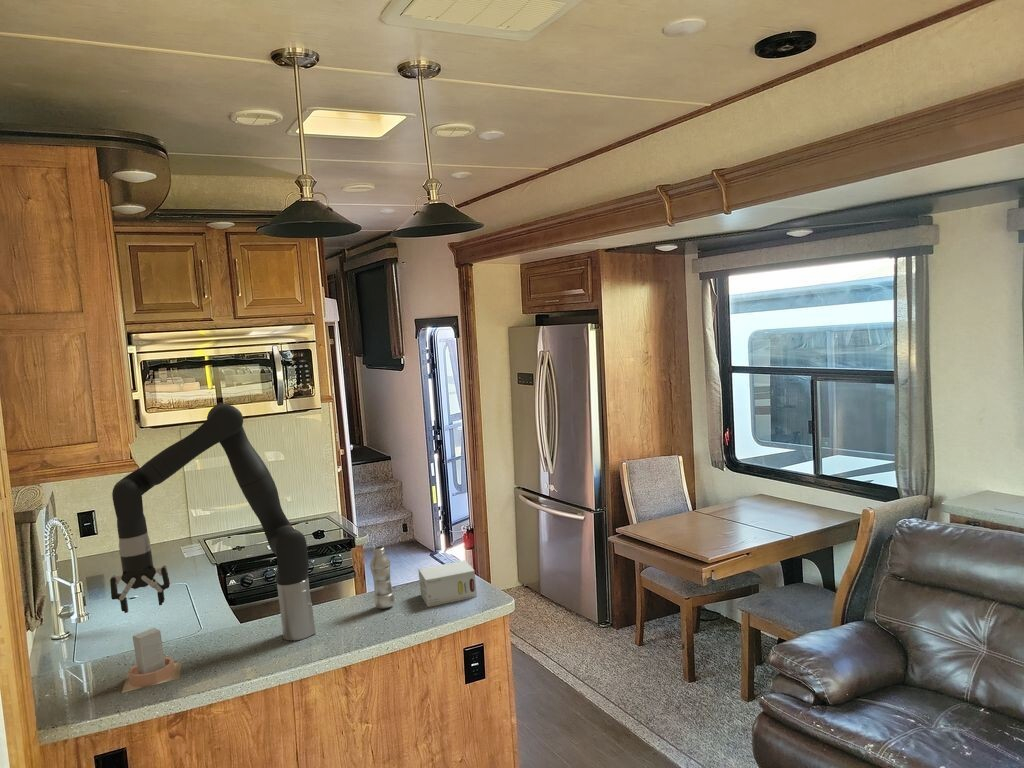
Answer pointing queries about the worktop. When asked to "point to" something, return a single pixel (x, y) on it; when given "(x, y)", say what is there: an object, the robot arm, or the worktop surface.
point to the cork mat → (173, 677)
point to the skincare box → (149, 651)
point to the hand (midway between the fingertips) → (143, 608)
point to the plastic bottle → (381, 579)
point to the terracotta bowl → (152, 674)
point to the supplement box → (447, 583)
